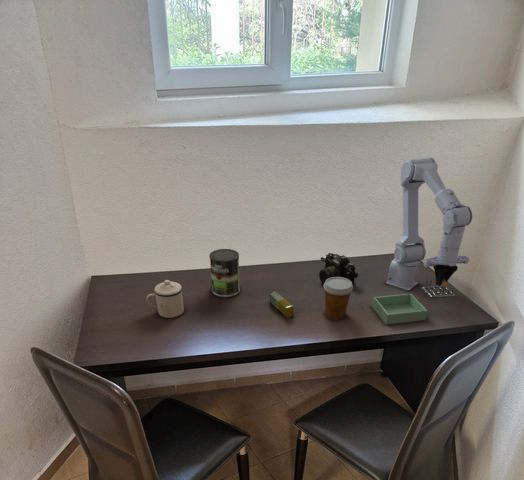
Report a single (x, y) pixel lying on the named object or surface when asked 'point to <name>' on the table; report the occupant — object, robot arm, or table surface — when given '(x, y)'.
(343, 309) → the disposable coffee cup
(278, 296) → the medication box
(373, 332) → the table surface
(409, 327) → the table surface
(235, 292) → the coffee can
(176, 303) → the teacup with lid
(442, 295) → the dish rack
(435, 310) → the table surface
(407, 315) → the green open tray
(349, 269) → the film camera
